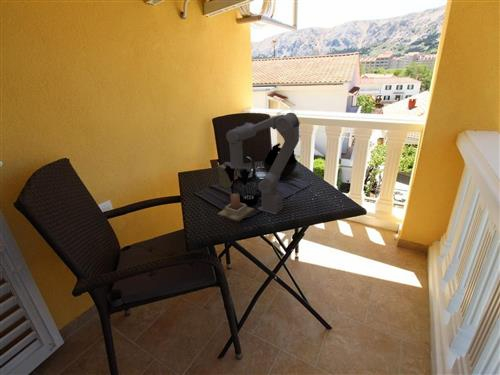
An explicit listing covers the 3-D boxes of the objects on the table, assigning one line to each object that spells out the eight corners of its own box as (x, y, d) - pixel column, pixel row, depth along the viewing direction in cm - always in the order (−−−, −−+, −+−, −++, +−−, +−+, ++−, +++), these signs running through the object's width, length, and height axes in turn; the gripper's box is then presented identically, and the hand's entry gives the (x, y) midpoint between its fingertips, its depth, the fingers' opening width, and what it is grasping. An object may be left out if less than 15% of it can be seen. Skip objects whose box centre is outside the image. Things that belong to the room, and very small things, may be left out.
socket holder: (254, 210, 122) (254, 203, 120) (238, 221, 113) (238, 215, 111) (234, 204, 128) (233, 198, 127) (217, 214, 119) (217, 208, 118)
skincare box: (219, 186, 150) (217, 165, 145) (225, 183, 152) (223, 163, 148) (226, 189, 146) (224, 168, 141) (232, 186, 148) (230, 166, 143)
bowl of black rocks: (290, 184, 147) (291, 152, 139) (258, 180, 155) (256, 149, 148) (300, 172, 163) (301, 143, 156) (270, 169, 172) (270, 140, 164)
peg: (242, 210, 120) (241, 194, 117) (236, 214, 117) (235, 198, 114) (235, 208, 123) (234, 192, 119) (229, 211, 120) (228, 195, 116)
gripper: (218, 155, 121) (221, 182, 127) (243, 160, 113) (245, 188, 119) (228, 151, 126) (230, 178, 132) (253, 155, 118) (254, 183, 124)
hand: (238, 182), depth 126 cm, fingers open, 7 cm apart
